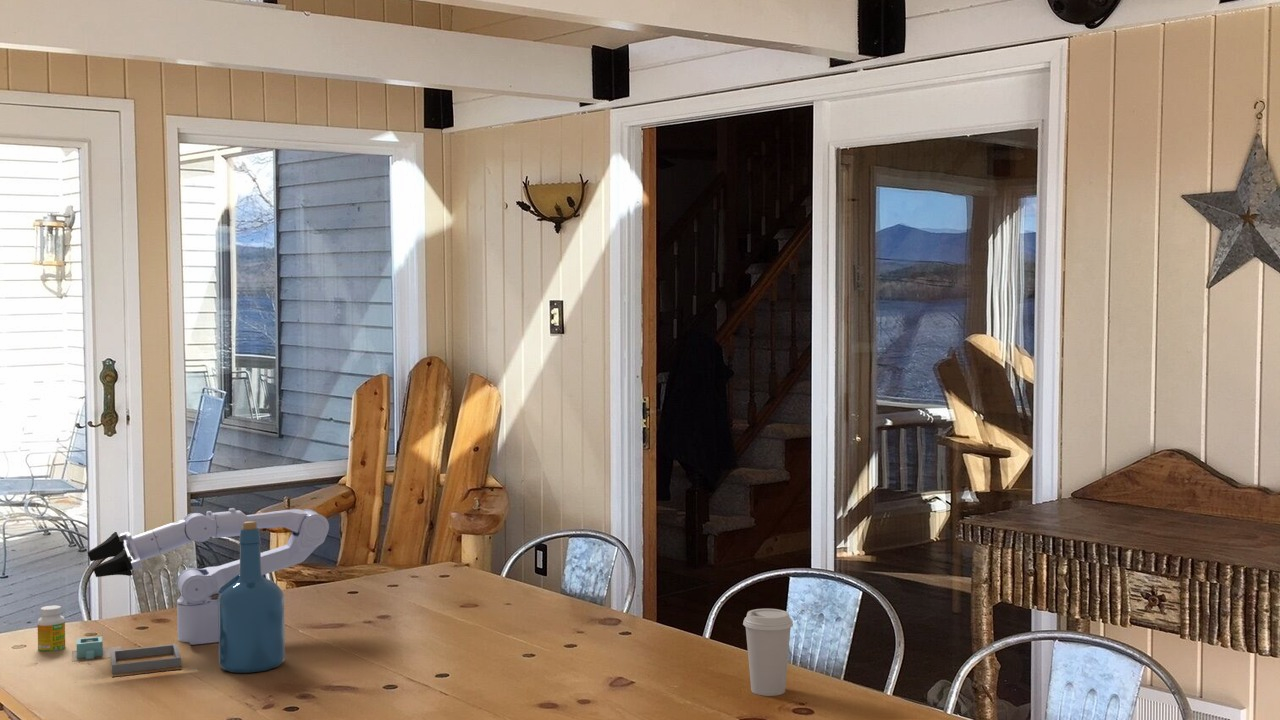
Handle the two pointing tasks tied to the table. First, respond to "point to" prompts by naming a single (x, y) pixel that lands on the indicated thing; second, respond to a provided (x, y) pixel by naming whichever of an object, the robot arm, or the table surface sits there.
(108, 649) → the board
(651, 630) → the table surface
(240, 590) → the wine bottle
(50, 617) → the supplement bottle
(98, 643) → the teal ring
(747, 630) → the coffee cup
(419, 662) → the table surface
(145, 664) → the tray
